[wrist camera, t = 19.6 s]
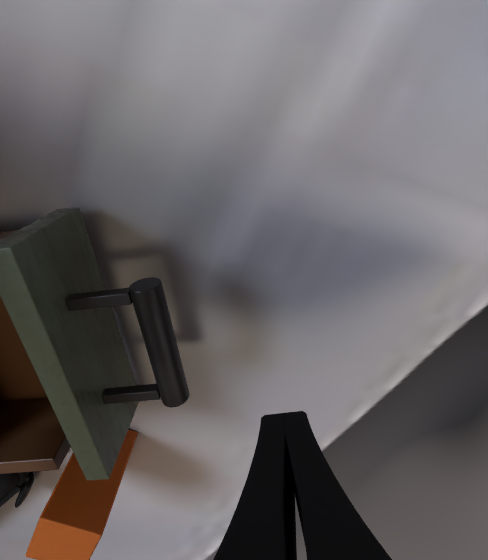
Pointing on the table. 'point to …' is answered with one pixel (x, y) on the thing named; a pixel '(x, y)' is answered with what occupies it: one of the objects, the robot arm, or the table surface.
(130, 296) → the drawer
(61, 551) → the snack box
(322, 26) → the table surface
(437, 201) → the table surface
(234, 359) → the table surface
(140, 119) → the table surface
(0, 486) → the carrying case
